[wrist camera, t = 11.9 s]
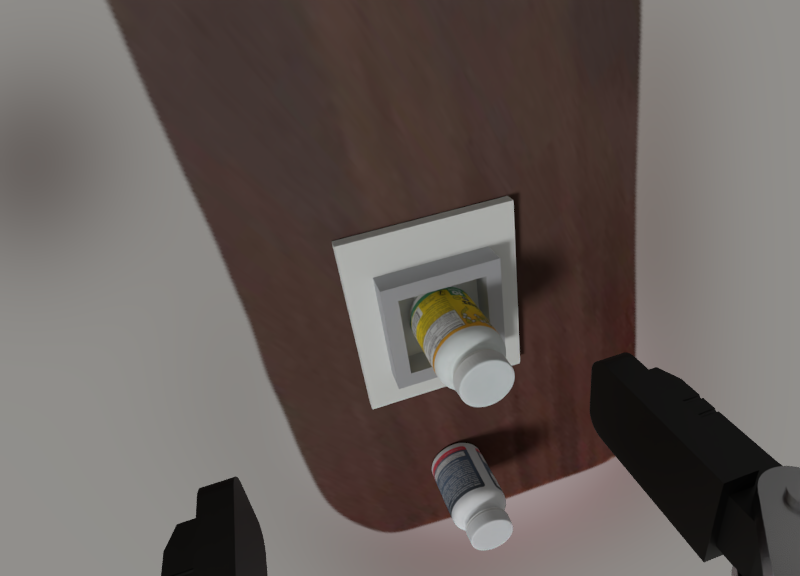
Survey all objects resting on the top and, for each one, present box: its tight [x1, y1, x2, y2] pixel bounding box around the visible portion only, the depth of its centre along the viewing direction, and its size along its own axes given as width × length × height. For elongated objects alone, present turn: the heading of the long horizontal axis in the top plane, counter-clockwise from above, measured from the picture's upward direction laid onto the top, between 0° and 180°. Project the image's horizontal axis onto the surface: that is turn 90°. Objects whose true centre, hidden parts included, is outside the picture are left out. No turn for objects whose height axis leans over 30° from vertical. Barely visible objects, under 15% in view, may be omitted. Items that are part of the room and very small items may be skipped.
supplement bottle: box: [408, 286, 515, 407], centre depth 40 cm, size 5×5×10 cm
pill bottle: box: [432, 443, 513, 550], centre depth 51 cm, size 5×5×9 cm
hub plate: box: [332, 196, 520, 409], centre depth 44 cm, size 16×14×3 cm
